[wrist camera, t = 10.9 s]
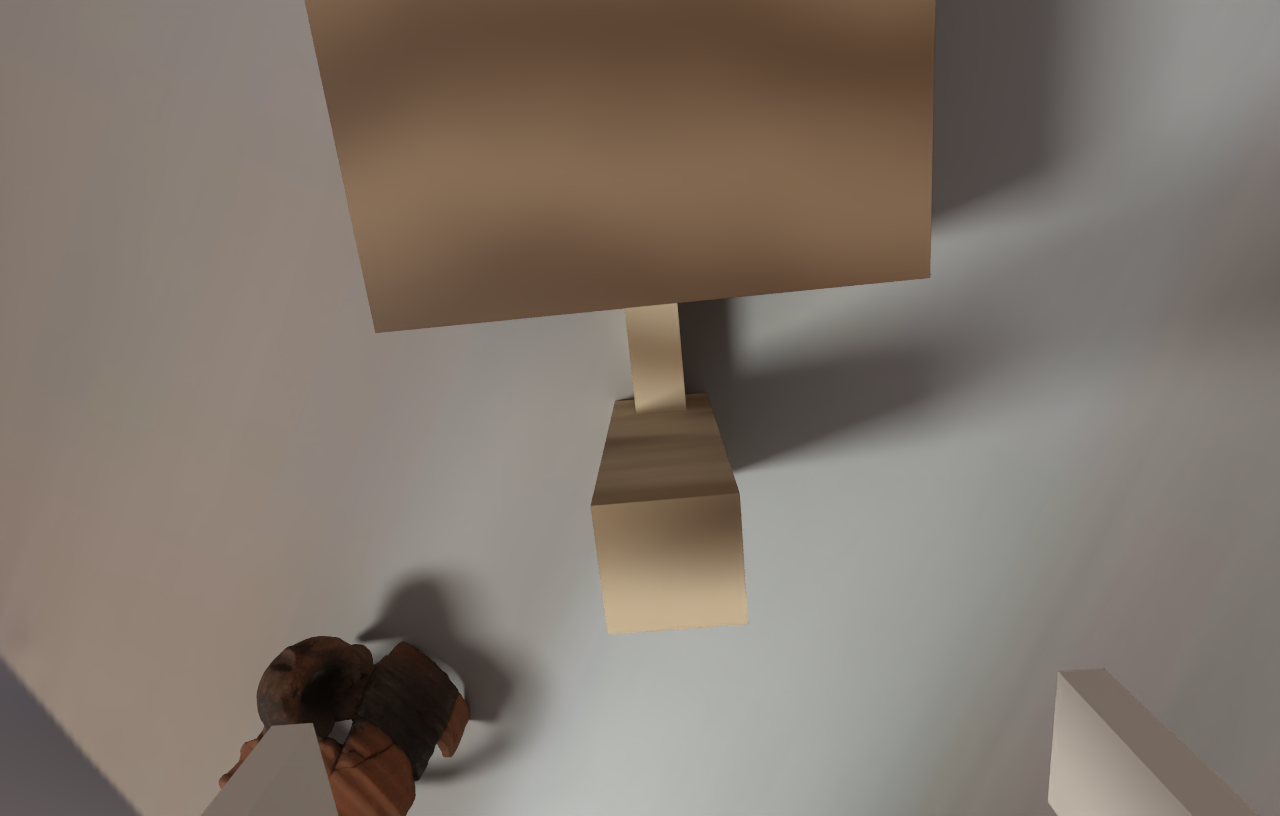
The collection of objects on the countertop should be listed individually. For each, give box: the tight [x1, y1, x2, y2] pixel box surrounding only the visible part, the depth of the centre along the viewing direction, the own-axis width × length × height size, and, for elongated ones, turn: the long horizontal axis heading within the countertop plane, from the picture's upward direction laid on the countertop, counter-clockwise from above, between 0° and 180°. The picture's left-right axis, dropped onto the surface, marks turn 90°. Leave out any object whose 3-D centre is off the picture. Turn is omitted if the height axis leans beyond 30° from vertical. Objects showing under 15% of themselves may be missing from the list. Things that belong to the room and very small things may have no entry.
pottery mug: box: [219, 636, 470, 816], centre depth 30 cm, size 12×10×8 cm
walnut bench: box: [305, 0, 936, 333], centre depth 20 cm, size 12×15×10 cm
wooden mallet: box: [591, 303, 748, 634], centre depth 20 cm, size 23×8×11 cm, turn 6°
